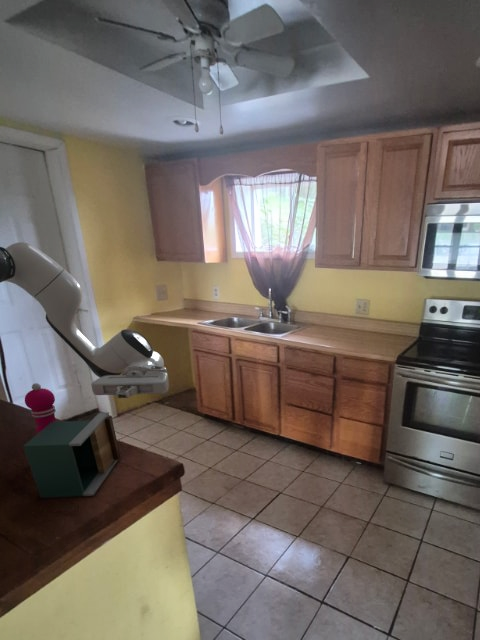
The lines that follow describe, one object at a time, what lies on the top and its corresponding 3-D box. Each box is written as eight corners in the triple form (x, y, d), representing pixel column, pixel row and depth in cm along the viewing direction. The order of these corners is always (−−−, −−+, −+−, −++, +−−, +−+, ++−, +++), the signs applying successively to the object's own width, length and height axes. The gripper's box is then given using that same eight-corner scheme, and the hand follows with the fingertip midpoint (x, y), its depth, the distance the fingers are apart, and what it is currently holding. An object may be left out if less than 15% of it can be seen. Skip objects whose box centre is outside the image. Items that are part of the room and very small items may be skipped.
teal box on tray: (40, 497, 80) (22, 445, 75) (73, 460, 94) (61, 413, 89) (93, 495, 81) (79, 443, 76) (119, 458, 95) (108, 412, 89)
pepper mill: (68, 445, 100) (48, 376, 92) (76, 455, 96) (56, 383, 88) (36, 455, 96) (13, 383, 88) (43, 466, 91) (20, 391, 83)
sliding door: (98, 473, 87) (88, 430, 83) (110, 457, 94) (101, 416, 89) (109, 472, 87) (99, 430, 83) (120, 456, 94) (111, 416, 89)
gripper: (100, 368, 109) (78, 385, 97) (171, 367, 111) (158, 383, 98) (105, 388, 112) (84, 407, 99) (174, 386, 113) (162, 405, 101)
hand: (122, 395), depth 99 cm, fingers closed
